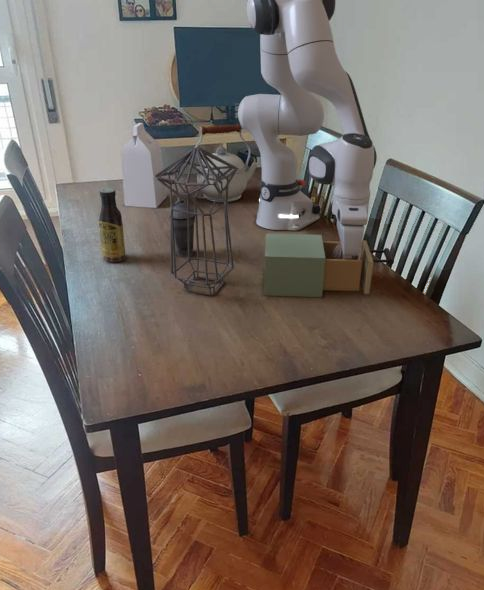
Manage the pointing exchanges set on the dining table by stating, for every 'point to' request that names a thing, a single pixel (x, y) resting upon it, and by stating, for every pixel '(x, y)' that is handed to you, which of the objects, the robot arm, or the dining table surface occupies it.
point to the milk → (142, 170)
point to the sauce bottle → (111, 227)
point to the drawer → (351, 268)
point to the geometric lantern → (177, 166)
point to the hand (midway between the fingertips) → (344, 257)
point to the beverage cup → (183, 228)
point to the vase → (340, 253)
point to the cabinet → (294, 265)
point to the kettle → (239, 178)
